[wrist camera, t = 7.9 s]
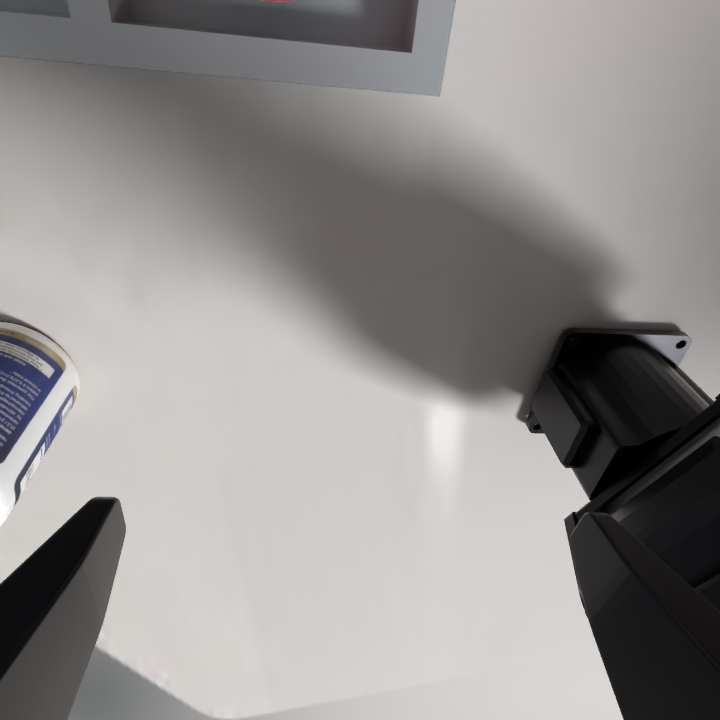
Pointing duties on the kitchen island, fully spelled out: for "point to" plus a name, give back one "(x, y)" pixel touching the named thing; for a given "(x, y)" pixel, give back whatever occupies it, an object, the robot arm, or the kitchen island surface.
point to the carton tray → (243, 38)
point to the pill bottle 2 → (278, 0)
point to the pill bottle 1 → (30, 405)
